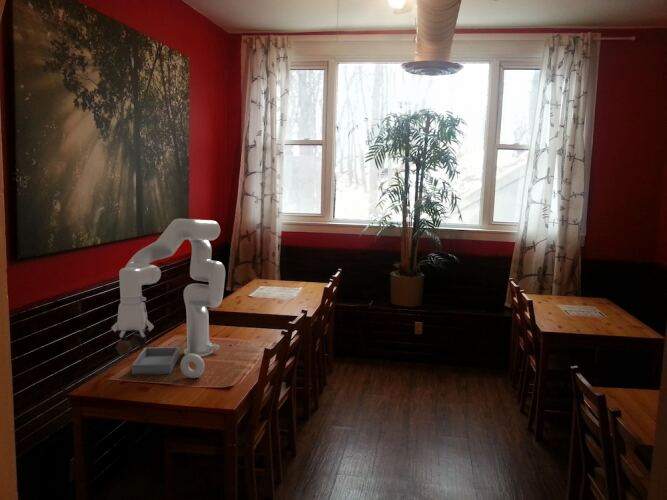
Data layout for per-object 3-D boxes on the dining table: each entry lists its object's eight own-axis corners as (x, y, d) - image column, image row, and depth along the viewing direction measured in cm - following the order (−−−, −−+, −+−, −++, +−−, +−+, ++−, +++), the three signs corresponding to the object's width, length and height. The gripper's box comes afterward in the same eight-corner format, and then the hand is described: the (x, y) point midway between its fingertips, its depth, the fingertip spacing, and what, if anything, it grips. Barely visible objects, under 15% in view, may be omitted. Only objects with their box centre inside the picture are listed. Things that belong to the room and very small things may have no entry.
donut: (206, 377, 213) (205, 353, 212) (202, 380, 210) (202, 356, 208) (182, 375, 215) (182, 351, 213) (179, 378, 212) (178, 354, 210)
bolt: (145, 345, 211) (125, 358, 196) (134, 339, 211) (113, 351, 196) (151, 333, 210) (132, 345, 195) (140, 327, 210) (120, 338, 195)
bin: (180, 355, 237) (179, 347, 236) (170, 374, 216) (170, 364, 215) (145, 356, 235) (144, 347, 234) (132, 374, 214) (131, 365, 214)
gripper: (157, 297, 205) (159, 342, 208) (110, 298, 203) (113, 343, 206) (152, 302, 198) (154, 349, 201) (104, 303, 196) (107, 350, 199)
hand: (133, 345), depth 203 cm, fingers closed on bolt, 5 cm apart
